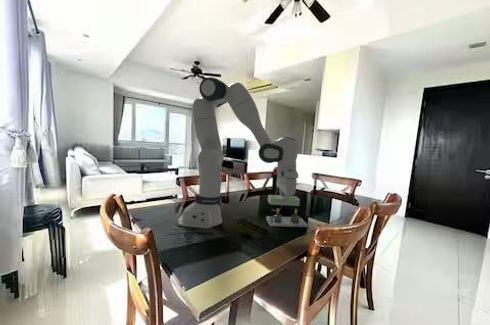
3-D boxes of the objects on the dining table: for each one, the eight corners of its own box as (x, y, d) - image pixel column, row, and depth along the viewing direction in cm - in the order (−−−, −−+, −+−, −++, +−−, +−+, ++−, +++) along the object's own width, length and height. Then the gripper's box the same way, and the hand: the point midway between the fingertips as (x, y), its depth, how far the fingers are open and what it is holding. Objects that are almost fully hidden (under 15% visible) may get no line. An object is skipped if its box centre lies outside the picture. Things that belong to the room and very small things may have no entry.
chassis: (270, 226, 115) (271, 211, 114) (266, 218, 126) (267, 205, 125) (307, 227, 117) (308, 212, 116) (300, 219, 128) (301, 206, 127)
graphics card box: (280, 214, 135) (284, 170, 133) (269, 213, 137) (272, 169, 134) (282, 206, 152) (285, 167, 149) (271, 205, 153) (274, 166, 151)
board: (270, 204, 103) (270, 198, 103) (267, 200, 109) (268, 194, 109) (299, 205, 104) (300, 199, 104) (295, 202, 110) (295, 196, 110)
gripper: (274, 168, 115) (272, 194, 117) (285, 174, 95) (282, 205, 96) (286, 168, 116) (284, 194, 117) (299, 175, 96) (296, 206, 97)
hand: (283, 199), depth 107 cm, fingers closed on board, 6 cm apart
